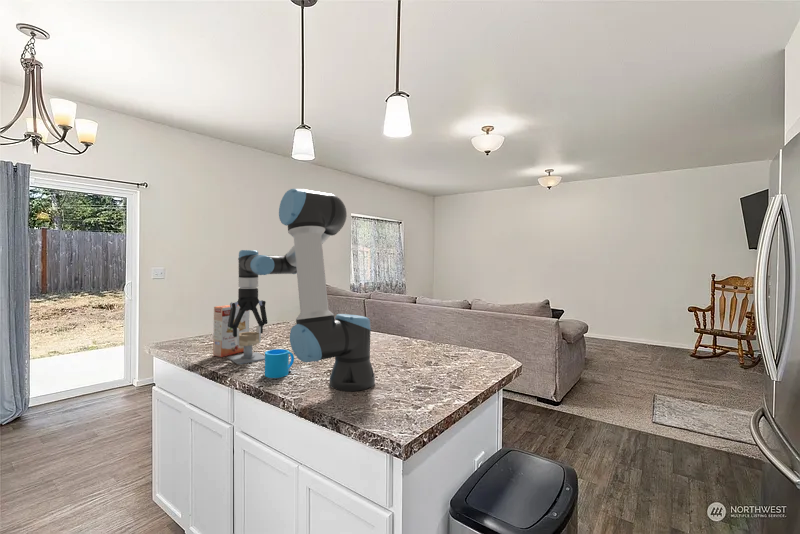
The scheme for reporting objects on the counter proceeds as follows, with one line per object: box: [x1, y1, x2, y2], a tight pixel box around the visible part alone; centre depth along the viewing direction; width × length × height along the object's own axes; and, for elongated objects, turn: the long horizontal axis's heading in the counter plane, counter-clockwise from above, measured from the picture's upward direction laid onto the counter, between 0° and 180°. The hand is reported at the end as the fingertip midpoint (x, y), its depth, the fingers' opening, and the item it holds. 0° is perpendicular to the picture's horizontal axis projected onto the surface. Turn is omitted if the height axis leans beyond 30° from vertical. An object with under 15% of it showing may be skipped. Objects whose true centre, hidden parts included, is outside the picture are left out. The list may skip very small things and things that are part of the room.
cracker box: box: [212, 304, 250, 358], centre depth 160 cm, size 14×6×21 cm, turn 153°
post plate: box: [227, 345, 265, 366], centre depth 153 cm, size 12×12×9 cm
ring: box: [239, 331, 260, 346], centre depth 153 cm, size 8×8×4 cm
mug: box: [264, 348, 295, 379], centre depth 135 cm, size 12×8×8 cm
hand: (248, 342), depth 153 cm, fingers closed on ring, 8 cm apart
